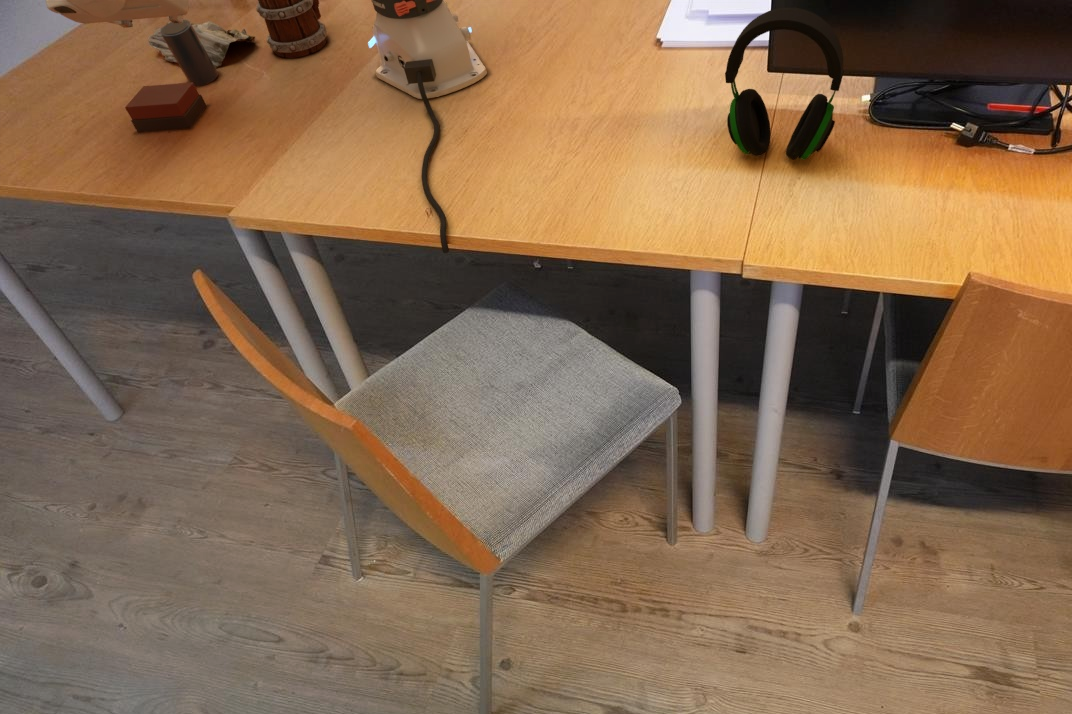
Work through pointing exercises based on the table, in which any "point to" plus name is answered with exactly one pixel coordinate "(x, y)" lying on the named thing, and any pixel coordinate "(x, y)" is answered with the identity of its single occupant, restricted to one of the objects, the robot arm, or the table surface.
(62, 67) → the table surface
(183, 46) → the cup
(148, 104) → the notebooks
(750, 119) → the headphones
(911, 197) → the table surface
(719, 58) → the table surface
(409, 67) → the robot arm
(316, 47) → the mug
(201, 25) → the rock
